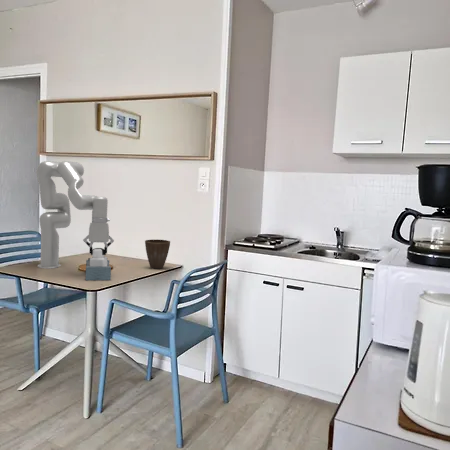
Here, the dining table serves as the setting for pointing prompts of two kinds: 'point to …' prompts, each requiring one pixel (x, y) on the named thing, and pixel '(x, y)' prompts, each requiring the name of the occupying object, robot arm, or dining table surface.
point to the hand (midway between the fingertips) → (98, 254)
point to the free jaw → (89, 263)
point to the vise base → (98, 272)
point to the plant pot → (157, 252)
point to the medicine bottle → (98, 257)
